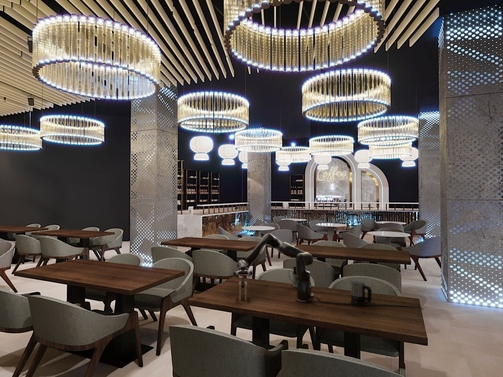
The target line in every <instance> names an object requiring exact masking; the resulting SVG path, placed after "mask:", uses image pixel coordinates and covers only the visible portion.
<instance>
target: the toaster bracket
mask: <svg viewBox="0 0 503 377" xmlns="http://www.w3.org/2000/svg"><path fill="white" fill-rule="evenodd" d="M241 282H242V281H239V283H238V287H239V288H238V298H239V301H241V300H242V296H241V295H242V288H241ZM244 283H245V288H244V300H245V301H247V292H248V291H247V287H248V283H247V281H244Z"/></svg>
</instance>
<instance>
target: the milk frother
mask: <svg viewBox="0 0 503 377" xmlns="http://www.w3.org/2000/svg"><path fill="white" fill-rule="evenodd" d="M366 291H367V296H366ZM350 294H351V295H350V296H351V297H350V304H354V305H353V306H357V307H362V306H365V305H364V304H366V303H367V304H371V302H372V300H373V297H372V296H373V295H372V288H371V287H370V286H369V285H366V283H365V281H362V280H361V281H360V280H351V281H350Z"/></svg>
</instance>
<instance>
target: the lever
mask: <svg viewBox="0 0 503 377" xmlns="http://www.w3.org/2000/svg"><path fill="white" fill-rule="evenodd" d="M239 277H241V281H240V282H241V289H245V277H247V276H246V275H240V276H239Z"/></svg>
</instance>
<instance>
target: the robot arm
mask: <svg viewBox="0 0 503 377" xmlns="http://www.w3.org/2000/svg"><path fill="white" fill-rule="evenodd" d="M265 245H266V246H267V247H269V248H273V249H274V250H277V251H278V253H280V254H282V255H283V256H285V257H287V258H291V259H295V267H296V272H297V287H296V301H298V302H300V303H310V302H311V301H312V300H314V298H315V299H317V300H318V302H320V303H325V304H333V305H334V304H336V305H345V306H346V305H347V306H348V305H349V306H355V305H354V304H351V303H345V302H334V301H322V300H320V299H319V297H317V296H315V295H314V293H312V286H311V272H310V271H308V270H306V267H308V266H309V267H310V266H311V265H313V263H314V258H313V256H312V254H311V253H309V252H307V251H304V250H301V249H299V248H298V247H296V246H294V245H292V244H290V243H288V242H285V241H281V240H280V239H278V238H277V237H276V236H275V235H273V234H272V233H270V232H266V234H264V235H263V236H262V237H261V238H260V240H259V242H258V243H257V244H256V245H255V247H254V248H253V249H252V251H250V252H249V254H247V256H245V260H246V261H245V260H243V259H239V260H238V262H237V263H236V268H237V270H233V276H234V277H237V278H238V277H241V276H240V275H246V276H245V277H248V278H249V277H251V276H253V273H254V272H253V270H249V269H250V267H251V265H252V264H253V263H254V262H255V261H256V260H257V259H258V258H259V257H260V254H261V250H262V248H263V247H264V246H265ZM363 306H388V307H401V308H402V307H405V308H418V309H421V310H422V311H424V310H425V309H424V308H423V307H422V306H417V305H413V306H411V305H402V304H386V303H385V304H384V303H383V304H382V303H365V304H364V305H363Z"/></svg>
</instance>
